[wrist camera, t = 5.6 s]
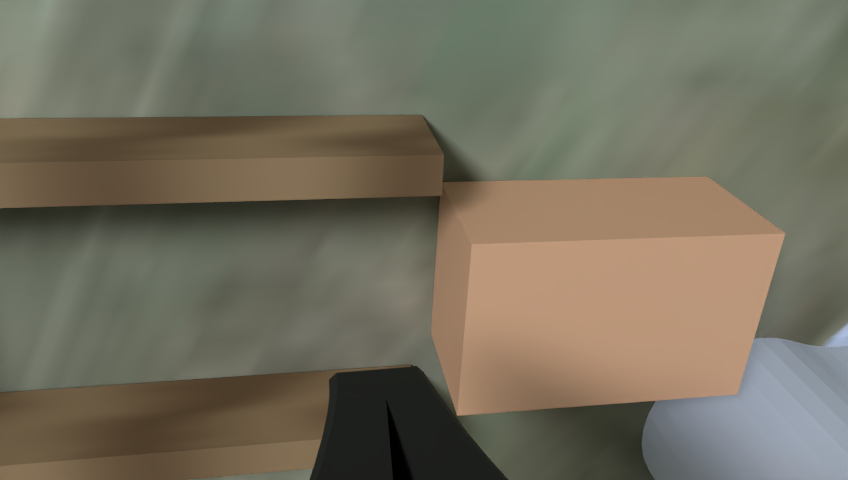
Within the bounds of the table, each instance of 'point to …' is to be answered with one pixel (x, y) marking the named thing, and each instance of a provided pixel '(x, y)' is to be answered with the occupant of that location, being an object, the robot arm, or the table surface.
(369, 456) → the robot arm
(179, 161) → the walnut cubby
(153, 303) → the table surface
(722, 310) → the terracotta brick
